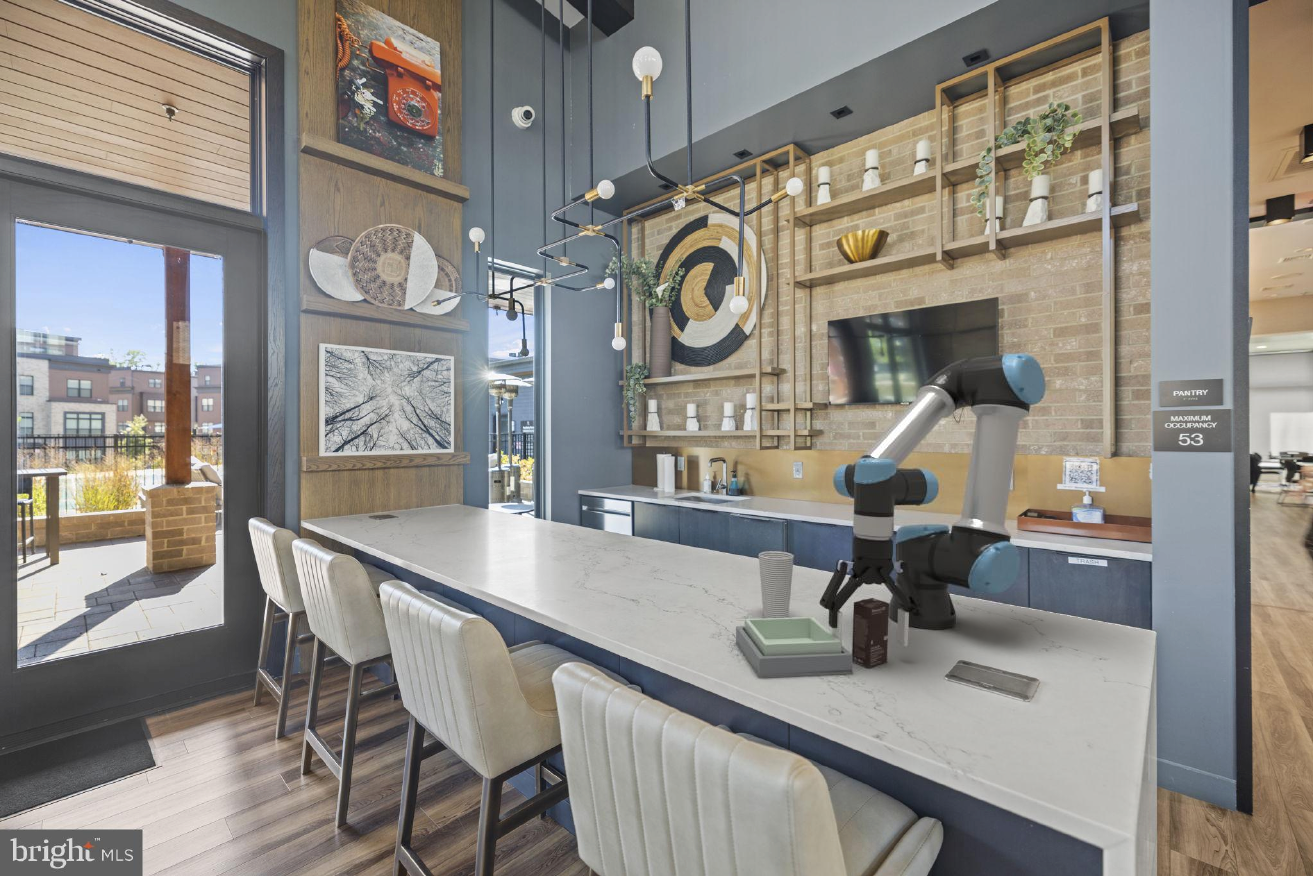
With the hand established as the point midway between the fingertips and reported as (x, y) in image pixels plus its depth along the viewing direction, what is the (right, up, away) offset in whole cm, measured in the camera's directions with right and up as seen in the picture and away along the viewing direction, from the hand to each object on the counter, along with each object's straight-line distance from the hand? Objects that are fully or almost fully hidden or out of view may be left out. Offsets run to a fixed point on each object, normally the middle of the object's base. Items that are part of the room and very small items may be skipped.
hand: (869, 644), depth 114 cm
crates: (-15, -4, +3) cm, 16 cm away
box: (0, -4, +1) cm, 4 cm away
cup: (-13, -4, +28) cm, 31 cm away
